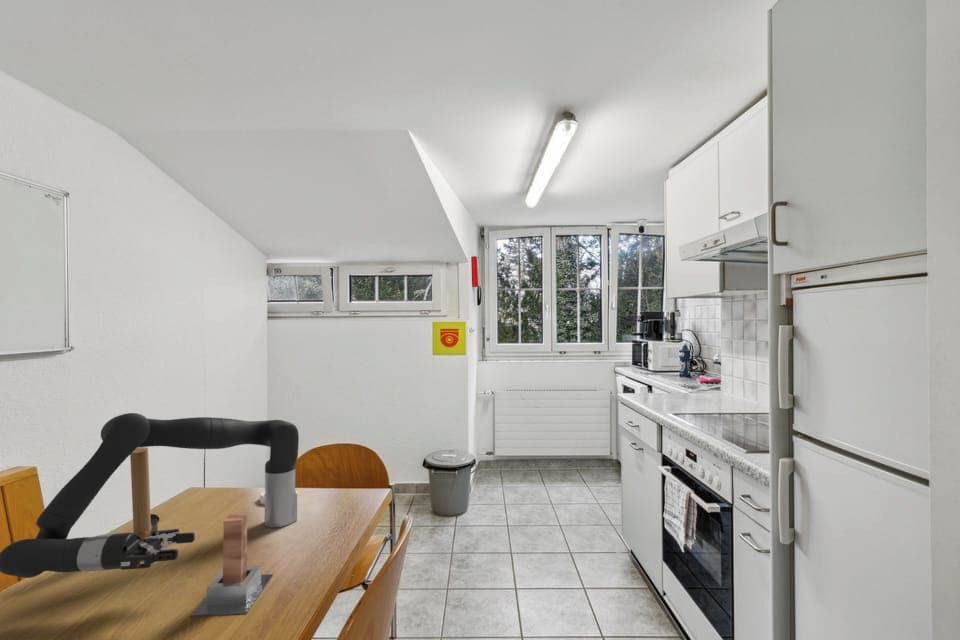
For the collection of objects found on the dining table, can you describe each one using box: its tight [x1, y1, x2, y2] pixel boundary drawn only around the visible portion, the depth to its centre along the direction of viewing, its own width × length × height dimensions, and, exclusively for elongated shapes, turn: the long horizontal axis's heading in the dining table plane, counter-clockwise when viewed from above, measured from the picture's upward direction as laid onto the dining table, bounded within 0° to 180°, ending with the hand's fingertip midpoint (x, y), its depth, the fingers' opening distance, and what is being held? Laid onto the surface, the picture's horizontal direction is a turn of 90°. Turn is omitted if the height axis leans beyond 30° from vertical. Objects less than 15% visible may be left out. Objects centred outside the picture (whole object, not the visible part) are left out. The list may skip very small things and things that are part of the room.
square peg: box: [222, 513, 248, 583], centre depth 110 cm, size 4×4×18 cm
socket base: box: [190, 565, 274, 618], centre depth 110 cm, size 16×12×5 cm
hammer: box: [129, 447, 160, 539], centre depth 133 cm, size 20×5×30 cm, turn 24°
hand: (186, 545), depth 108 cm, fingers open, 8 cm apart
